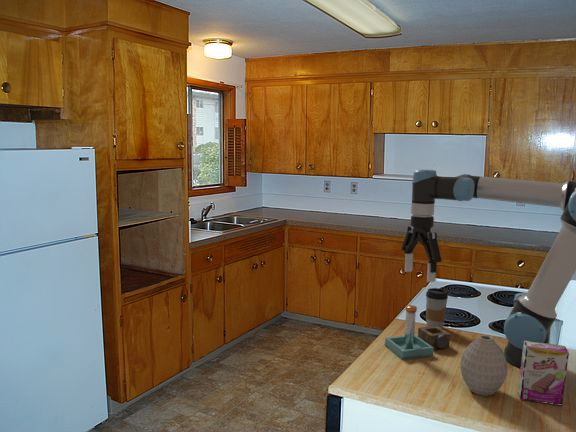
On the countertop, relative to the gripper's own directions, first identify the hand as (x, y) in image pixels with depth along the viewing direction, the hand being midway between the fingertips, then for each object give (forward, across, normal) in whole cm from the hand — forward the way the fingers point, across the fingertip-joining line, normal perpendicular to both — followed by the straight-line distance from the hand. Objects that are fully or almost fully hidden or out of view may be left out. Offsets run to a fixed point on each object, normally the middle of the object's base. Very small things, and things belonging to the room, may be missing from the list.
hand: (419, 276), depth 175 cm
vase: (+27, -31, -3) cm, 41 cm away
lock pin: (+26, 0, +3) cm, 26 cm away
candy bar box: (+28, -40, -16) cm, 51 cm away
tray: (+27, 0, +3) cm, 27 cm away
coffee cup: (+27, +17, -20) cm, 37 cm away
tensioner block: (+27, +3, -9) cm, 28 cm away
